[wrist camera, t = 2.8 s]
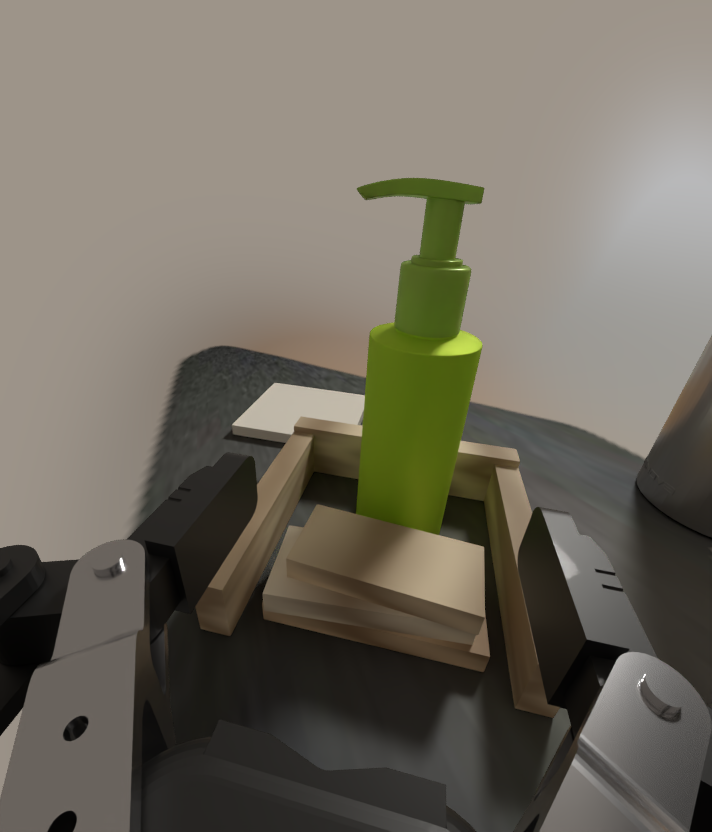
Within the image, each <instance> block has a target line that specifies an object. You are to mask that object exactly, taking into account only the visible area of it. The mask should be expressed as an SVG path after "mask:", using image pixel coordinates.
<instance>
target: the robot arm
mask: <svg viewBox="0 0 712 832" xmlns="http://www.w3.org/2000/svg"><path fill="white" fill-rule="evenodd" d="M636 480H637V485H638V487H639V489H640V491H641V492H642V494H643V495H644V496H645V497H646V498H647V499H648V500H649V501H650V502H651V503H652V504H653V505H654V506H656V507H657V508H658V509H659V510H661V511H662V512H664V513H665V514H666V515H668V516H669V517H671V518H672V519H674V520H676V521H678V522H680V523H681V524H683V525H685V526H687V527H689V528H691V529H693V530H695V531H697V532H699V533H702V534H704V535H706V536H709V537H712V336H711V338H710V340H709V342H708V344H707V345H706V347H705V349H704V351H703V353H702V355H701V357H700V359H699V361H698V362H697V364H696V366H695V368H694V370H693V372H692V374H691V375H690V377H689V379H688V381H687V383H686V385H685V387H684V389H683V391H682V393H681V394H680V396H679V398H678V400H677V402H676V404H675V406H674V407H673V409H672V411H671V413H670V415H669V417H668V419H667V421H666V422H665V424H664V426H663V428H662V430H661V432H660V434H659V436H658V438H657V440H656V441H655V443H654V445H653V447H652V449H651V451H650V453H649V455H648V456H647V457H646V459H645V461H644V464H643V466H642V468H641V469H640V471H639V473H638V476H637V478H636ZM257 501H258V493H257V481H256V469H255V461H254V458H253V457H252V456H247V455H241V454H235V453H230V452H228V453H225V454H224V455H223V456H222V457H221V458H220V459H219V460H218V462H217V463H216V464H215V465H214V466H213V467H211V466H206V467H204V468H202V469H200V470H199V471H197V472H195V473H193V474H191V475H190V476H189V477H188V478H187V479H186V480H185V481H184V482H183V483H182V484H181V485H180V486H179V487H178V490H175V491H174V492H173V493H172V494H171V495H170V496H169V498H168V500H165V501H164V502H163V503H162V504H161V505H160V506H159V507H158V508H157V509H156V510H155V511H154V512H153V513H152V514H151V515H150V516H149V517H148V518H147V519H146V520H145V521H144V522H143V523H142V524H141V525H140V526H139V527H138V528H137V529H136V531H135V532H134V533H133V534H132V535H131V536H130V537H129V538H127V539H126V540H124V539H123V540H116V541H111V542H107V543H105V544H102V545H100V546H98V547H96V548H94V549H92V550H91V551H89V552H87V554H85V555H84V556H82V557H81V558H80V559H79V560H66V561H52V562H41V560H40V558H39V556H38V554H37V552H36V551H35V549H34V548H31V547H29V546H25V545H14V546H7V547H3V548H0V736H1V734H2V733H3V732H4V731H5V729H6V728H7V727H8V726H9V724H10V723H11V722H12V721H13V719H14V718H15V717H16V716H17V714H18V713H19V712H20V711H21V709H22V708H23V710H22V715H21V718H20V723H19V726H18V730H17V734H16V738H15V743H14V746H13V750H12V754H11V758H10V762H9V766H8V770H7V774H6V778H5V783H4V787H3V790H2V794H1V798H0V832H476V831H475V830H474V829H473V827H472V826H471V825H470V824H469V823H468V822H466V821H465V820H464V819H463V818H462V817H461V816H460V815H458V814H457V813H456V812H455V811H453V810H452V809H451V808H449V807H448V806H446V785H445V784H441V783H438V782H434V781H431V780H427V779H424V778H421V777H417V776H414V775H410V774H407V773H403V772H400V771H396V770H393V769H389V768H369V769H351V770H333V771H327V770H322V769H320V768H318V767H317V766H315V765H314V764H312V763H311V762H309V761H308V760H307V759H305V758H304V757H302V756H301V755H300V754H298V753H297V752H295V751H294V750H293V749H291V748H290V747H288V746H287V745H286V744H284V743H283V742H281V741H280V740H279V739H277V738H276V737H274V736H273V735H272V734H269V733H265V732H262V731H258V730H255V729H251V728H248V727H245V726H241V725H238V724H234V723H231V722H227V721H224V720H220V719H219V721H218V723H217V725H216V728H215V730H214V732H213V734H212V737H204V738H199V739H195V740H190V741H187V742H185V743H182V744H179V745H176V739H175V730H174V723H173V718H172V712H171V703H170V682H169V656H168V631H167V623H166V622H167V620H168V619H169V618H170V616H171V615H172V613H173V612H174V610H176V611H181V612H185V613H189V614H191V613H192V611H193V609H194V608H195V606H196V605H197V603H198V602H199V600H200V598H201V597H202V595H203V594H204V592H205V591H206V589H207V587H208V586H209V584H210V583H211V581H212V580H213V578H214V576H215V575H216V573H217V572H218V570H219V569H220V567H221V565H222V564H223V562H224V561H225V559H226V558H227V556H228V555H229V553H230V551H231V550H232V548H233V547H234V545H235V544H236V542H237V540H238V539H239V537H240V536H241V534H242V533H243V531H244V529H245V528H246V526H247V525H248V523H249V522H250V520H251V518H252V517H253V515H254V513H255V510H256V506H257ZM517 565H518V573H519V577H520V582H521V586H522V591H523V596H524V600H525V605H526V609H527V614H528V618H529V623H530V627H531V632H532V636H533V641H534V645H535V650H536V654H537V659H538V663H539V668H540V672H541V677H542V681H543V686H544V690H545V695H546V699H547V704H548V705H552V706H556V707H560V708H565V709H567V711H568V715H569V719H570V723H571V726H570V727H569V729H568V730H567V732H566V734H565V736H564V738H563V740H562V742H561V743H560V745H559V747H558V749H557V751H556V753H555V755H554V757H553V759H552V761H551V763H550V765H549V767H548V769H547V771H546V772H545V774H544V776H543V778H542V780H541V782H540V784H539V786H538V788H537V790H536V792H535V794H534V796H533V798H532V800H531V801H530V803H529V805H528V807H527V809H526V811H525V812H524V814H523V816H522V818H521V819H520V821H519V822H518V824H517V826H516V827H515V829H514V831H513V832H712V709H711V708H709V707H707V706H706V705H705V703H704V701H703V699H702V698H701V696H700V695H699V693H698V692H697V691H696V690H695V688H694V687H693V686H692V685H691V684H690V683H689V682H688V681H687V680H686V679H685V678H684V677H683V676H682V675H681V674H680V673H679V672H677V671H676V670H675V669H673V668H672V667H671V666H669V665H668V664H666V663H664V662H663V661H661V660H659V659H658V657H657V655H656V653H655V651H654V649H653V647H652V645H651V643H650V641H649V639H648V637H647V635H646V633H645V631H644V629H643V627H642V625H641V623H640V621H639V619H638V617H637V615H636V613H635V611H634V609H633V607H632V605H631V603H630V601H629V599H628V597H627V595H626V593H624V592H623V587H622V585H621V583H620V581H619V579H618V577H617V576H615V571H614V569H613V567H612V565H611V563H610V561H609V559H608V557H607V555H606V553H605V552H604V551H603V550H602V549H601V548H600V547H599V546H598V545H597V544H596V543H595V542H594V541H593V540H592V539H591V538H590V537H589V536H585V535H580V534H579V533H578V530H577V528H576V526H575V524H574V521H573V519H572V517H571V515H570V514H569V513H568V512H563V511H558V510H552V509H546V508H540V507H537V508H535V509H534V511H533V513H532V516H531V518H530V521H529V523H528V526H527V529H526V531H525V534H524V536H523V539H522V542H521V544H520V547H519V551H518V559H517Z"/></svg>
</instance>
